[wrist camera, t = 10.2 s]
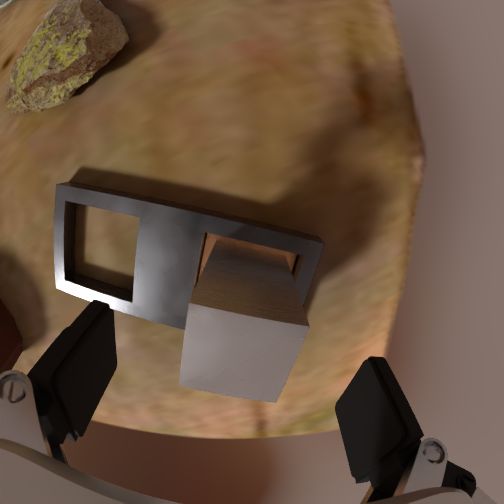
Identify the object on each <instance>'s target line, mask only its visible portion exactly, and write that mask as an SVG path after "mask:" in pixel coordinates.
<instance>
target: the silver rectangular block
mask: <svg viewBox="0 0 504 504" xmlns="http://www.w3.org/2000/svg"><path fill="white" fill-rule="evenodd" d="M309 327H310V326H309V323H308V320H307V317H306V314H305V311H304V308H303V305H302V302H301V299H300V296H299V293H298V290H297V287H296V284H295V281H294V278H293V275H292V272H291V269H290V267H289V264H288V261H287V258H286V256H284V255H280V254H275V253H271V252H266V251H262V250H257V249H253V248H248V247H244V246H239V245H235V244H231V243H226V242H222V241H217V240H216V242H215V244H214V246H213V248H212V251H211V253H210V255H209V257H208V260H207V262H206V264H205V266H204V269H203V271H202V273H201V276H200V278H199V280H198V283H197V285H196V287H195V290H194V292H193V294H192V297H191V299H190V302H189V306H188V313H187V320H186V328H185V335H184V343H183V351H182V360H181V369H180V379H179V386H183V387H187V388H192V389H196V390H201V391H205V392H210V393H215V394H221V395H226V396H232V397H238V398H244V399H251V400H258V401H266V402H275V403H276V402H277V400H278V398H279V396H280V394H281V392H282V389H283V387H284V385H285V383H286V381H287V379H288V376H289V374H290V372H291V370H292V367H293V365H294V363H295V361H296V358H297V356H298V354H299V351H300V349H301V347H302V344H303V342H304V340H305V337H306V335H307V332H308V330H309Z"/></svg>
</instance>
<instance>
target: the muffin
mask: <svg viewBox="0 0 504 504" xmlns="http://www.w3.org/2000/svg"><path fill="white" fill-rule="evenodd" d="M21 344H22V337H21V335H20V333H19V331H18V329H17V326H16V324H15V321H14V318H13V316H12V315H11V314H10V313H9V311H8V310H7V309H6V307H5V306H4V304H3V303H2V301H1V299H0V374H1V373H3V372H5V371H9V370H12V368H13V366H14V365H15V363H16V361H17V360H18V358H19V356H20V355H21V353H22V346H21Z"/></svg>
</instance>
